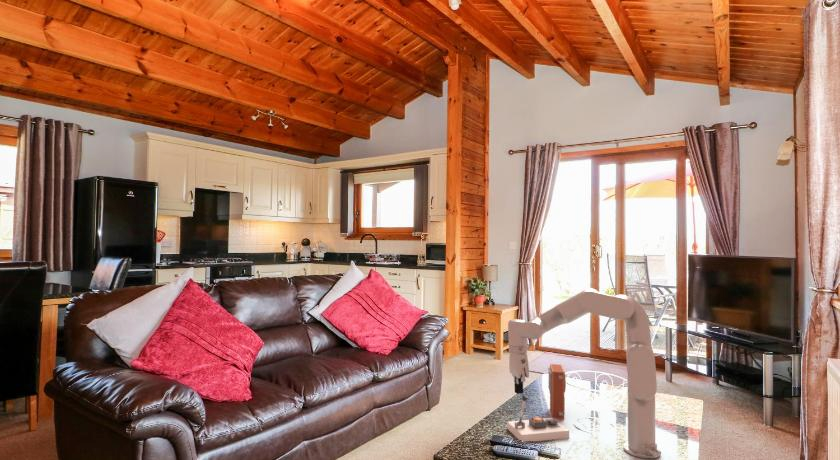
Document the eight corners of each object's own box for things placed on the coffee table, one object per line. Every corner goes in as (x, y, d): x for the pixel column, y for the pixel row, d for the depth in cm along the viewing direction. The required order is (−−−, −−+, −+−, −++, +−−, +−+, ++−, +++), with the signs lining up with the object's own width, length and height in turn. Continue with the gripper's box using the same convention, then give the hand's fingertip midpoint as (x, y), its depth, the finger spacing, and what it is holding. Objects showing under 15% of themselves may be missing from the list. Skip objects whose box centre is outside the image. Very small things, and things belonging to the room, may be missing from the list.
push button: (543, 424, 193) (543, 420, 193) (535, 425, 192) (535, 420, 192) (539, 421, 196) (539, 416, 196) (531, 422, 195) (531, 417, 195)
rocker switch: (557, 423, 194) (557, 420, 194) (550, 423, 193) (550, 420, 193) (552, 420, 198) (552, 418, 198) (545, 421, 197) (545, 418, 197)
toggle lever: (522, 426, 192) (528, 398, 187) (518, 427, 191) (523, 398, 187) (520, 423, 194) (526, 394, 189) (516, 423, 193) (521, 395, 189)
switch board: (569, 437, 189) (569, 424, 190) (521, 442, 185) (521, 428, 185) (552, 424, 203) (552, 411, 203) (507, 428, 198) (507, 415, 198)
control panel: (562, 408, 222) (566, 420, 208) (547, 407, 224) (550, 419, 209) (562, 363, 223) (566, 372, 208) (547, 363, 224) (550, 371, 210)
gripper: (534, 352, 190) (535, 397, 190) (518, 344, 205) (519, 387, 204) (517, 353, 189) (518, 399, 188) (502, 346, 203) (503, 388, 203)
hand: (519, 392), depth 196 cm, fingers closed
